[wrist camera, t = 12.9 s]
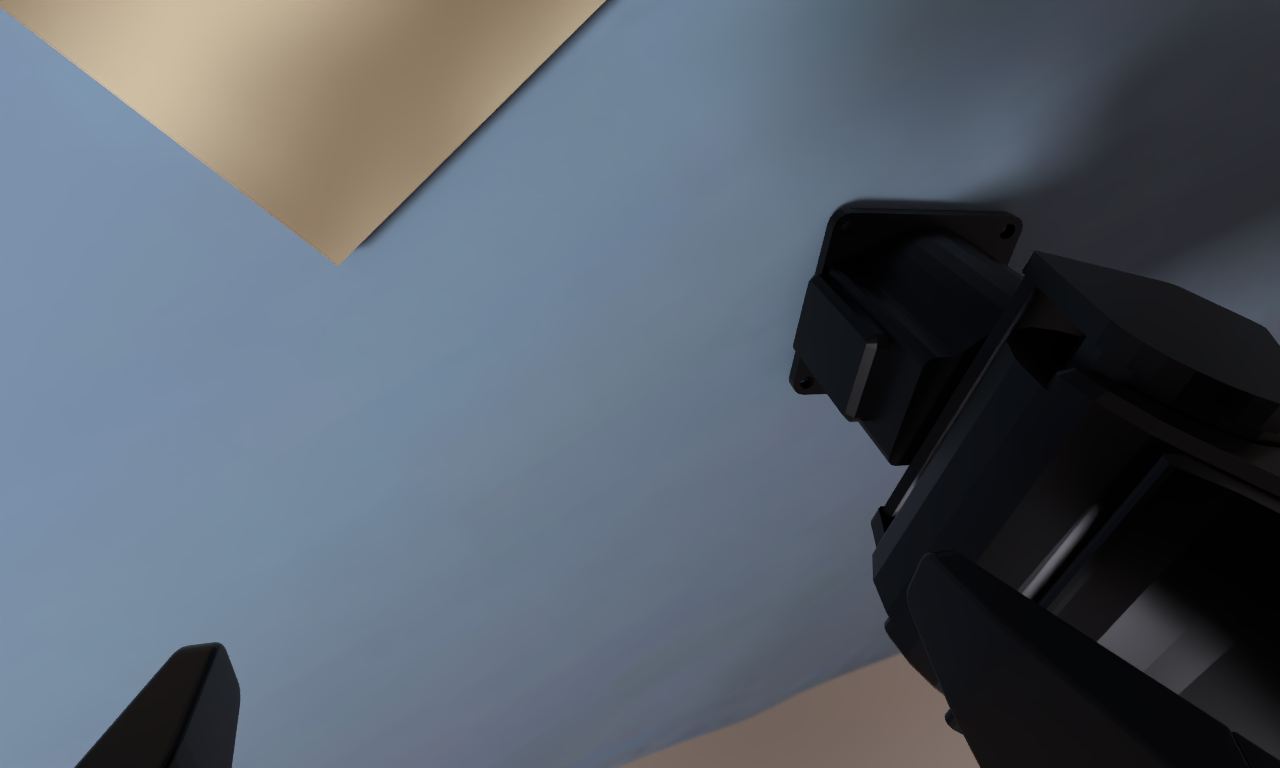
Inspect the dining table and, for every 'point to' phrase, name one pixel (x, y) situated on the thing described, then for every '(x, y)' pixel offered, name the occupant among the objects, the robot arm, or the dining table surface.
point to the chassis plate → (311, 88)
